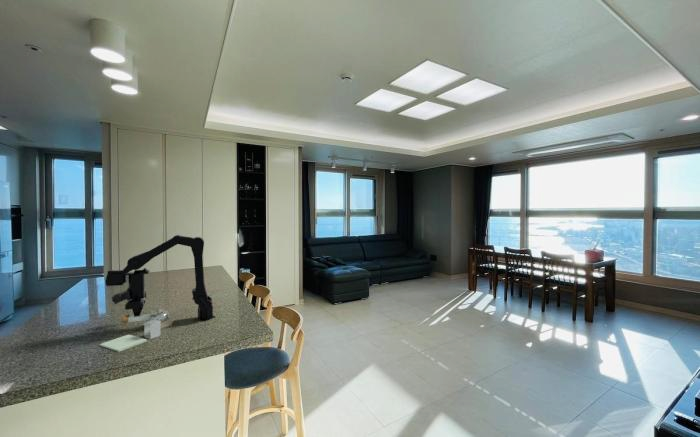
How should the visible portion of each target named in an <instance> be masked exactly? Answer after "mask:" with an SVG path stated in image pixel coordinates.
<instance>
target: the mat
mask: <svg viewBox="0 0 700 437" xmlns="http://www.w3.org/2000/svg"><path fill="white" fill-rule="evenodd" d="M146 342H148V338H143V337H139V336H135V335H133V334H129V333H128V334H126V335H123V336H120V337H117V338H115V339H110V340H108V341H105V342H102V343H100V344H99V346H100V347H103V348H105V349H109V350H111V351H114V352H117V353H118V352H120V353H121V352H122V351H125V350H128V349H131V348H132V347H136V346H139V345H141V344H142V343H146Z"/></svg>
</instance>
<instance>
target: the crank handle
mask: <svg viewBox="0 0 700 437" xmlns="http://www.w3.org/2000/svg"><path fill="white" fill-rule="evenodd" d="M121 316H122V317H121V322H122V324H127V323H131V322H132V323H133V322H134V323H135V322H140V321H142V322H143V321H149V320H159V321H161V322H164V321H166V320H168V319H169V317H170V311H169V310H164V309H163V308H160V309H159V308H158V309H156V311H155V312H151V314H150V313H147V314H140V315H138V316H134V315H131V316H130V314H129V313H126V314H122V315H121Z"/></svg>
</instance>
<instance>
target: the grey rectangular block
mask: <svg viewBox="0 0 700 437" xmlns="http://www.w3.org/2000/svg"><path fill="white" fill-rule="evenodd" d="M150 320H151V319H150ZM143 329H144V338H145V339H150V340H151V339H154V338H157V337H160V336H161V333H162V332H161V330H162V328H161V321H159V320H151V321H149V320H147V321H146V322H145V321H144V328H143Z"/></svg>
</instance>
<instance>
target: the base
mask: <svg viewBox="0 0 700 437" xmlns="http://www.w3.org/2000/svg"><path fill="white" fill-rule="evenodd" d="M148 321H151V319H149V320H148ZM173 322H174V318H173V317H171V316H169V319H168V320H166V321H164V322H161V329H164V328H168V327H170V326H172V325H174V324H173Z"/></svg>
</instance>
